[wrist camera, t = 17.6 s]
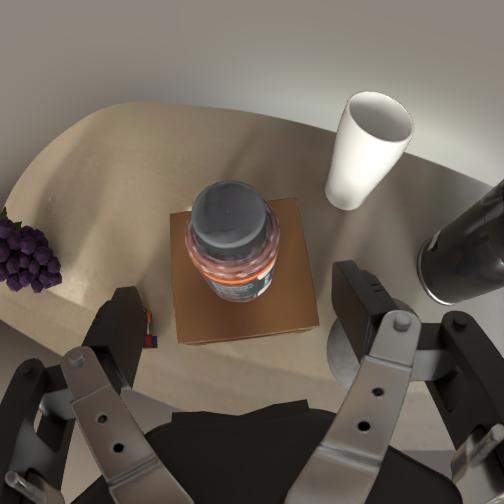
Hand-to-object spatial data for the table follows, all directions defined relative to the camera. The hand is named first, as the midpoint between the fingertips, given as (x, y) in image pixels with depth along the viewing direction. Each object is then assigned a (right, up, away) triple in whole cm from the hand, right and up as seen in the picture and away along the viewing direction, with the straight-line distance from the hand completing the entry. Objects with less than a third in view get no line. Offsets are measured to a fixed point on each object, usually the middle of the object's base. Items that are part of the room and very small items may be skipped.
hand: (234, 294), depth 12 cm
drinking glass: (+12, +9, +26) cm, 30 cm away
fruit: (-30, 0, +24) cm, 38 cm away
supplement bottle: (0, 0, +15) cm, 15 cm away
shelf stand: (0, -2, +22) cm, 22 cm away
